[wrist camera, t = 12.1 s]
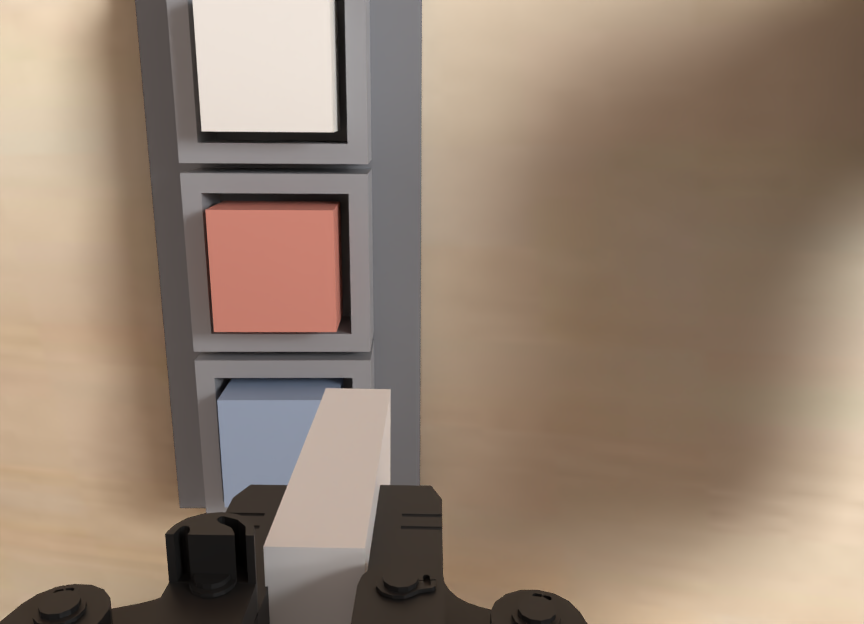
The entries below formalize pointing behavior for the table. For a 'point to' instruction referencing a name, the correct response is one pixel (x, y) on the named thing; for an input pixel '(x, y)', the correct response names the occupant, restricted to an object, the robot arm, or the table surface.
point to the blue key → (265, 428)
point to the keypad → (291, 181)
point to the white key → (267, 65)
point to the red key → (275, 266)
